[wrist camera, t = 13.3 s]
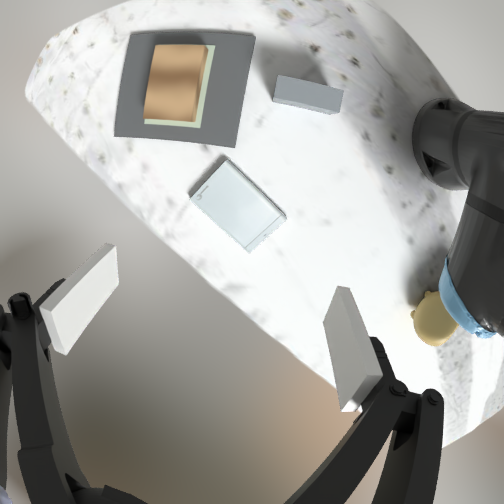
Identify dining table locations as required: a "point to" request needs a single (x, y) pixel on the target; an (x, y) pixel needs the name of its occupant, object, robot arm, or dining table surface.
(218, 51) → the mat
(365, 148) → the dining table surface
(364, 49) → the dining table surface
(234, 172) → the hard drive
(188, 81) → the card box
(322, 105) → the stand
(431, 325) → the toy pig
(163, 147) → the dining table surface
